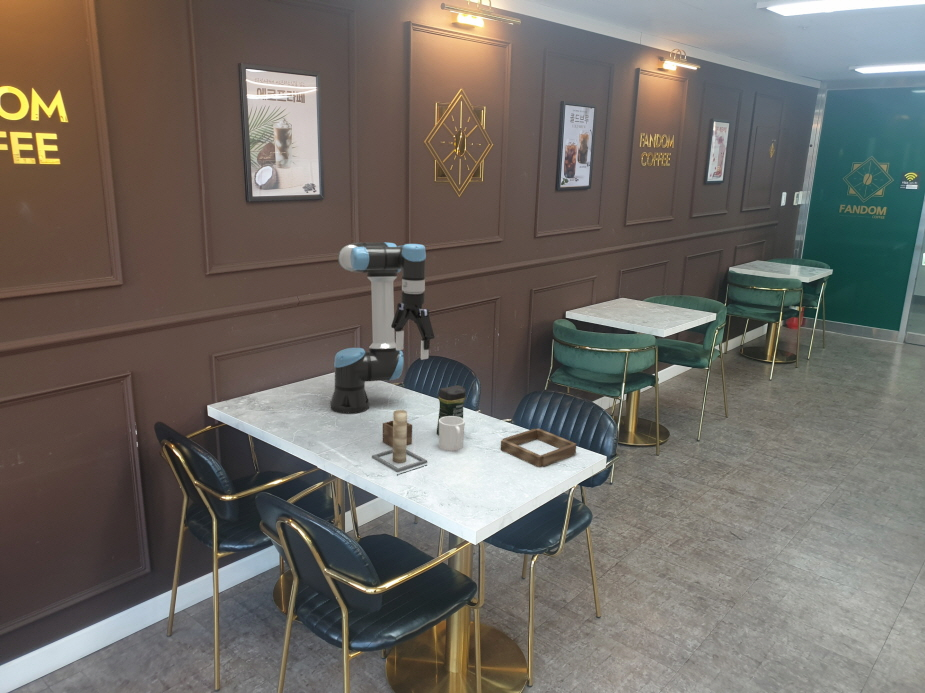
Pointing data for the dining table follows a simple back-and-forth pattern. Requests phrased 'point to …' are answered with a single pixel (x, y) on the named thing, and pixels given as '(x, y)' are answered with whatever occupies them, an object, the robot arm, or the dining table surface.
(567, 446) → the frame
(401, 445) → the dowel
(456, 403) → the coffee jar
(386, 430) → the pen cup
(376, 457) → the tray
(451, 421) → the mug
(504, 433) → the dining table surface
